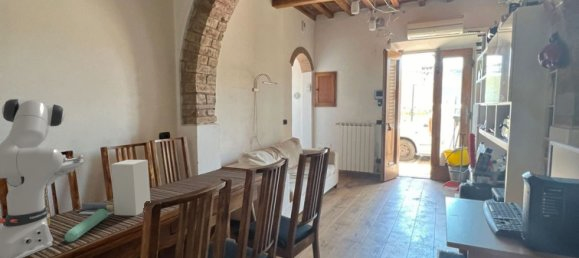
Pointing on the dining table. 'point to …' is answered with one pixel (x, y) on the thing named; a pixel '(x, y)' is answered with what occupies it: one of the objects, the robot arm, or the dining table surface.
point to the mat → (91, 212)
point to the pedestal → (130, 186)
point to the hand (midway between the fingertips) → (74, 157)
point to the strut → (98, 206)
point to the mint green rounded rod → (86, 225)
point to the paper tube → (47, 204)
